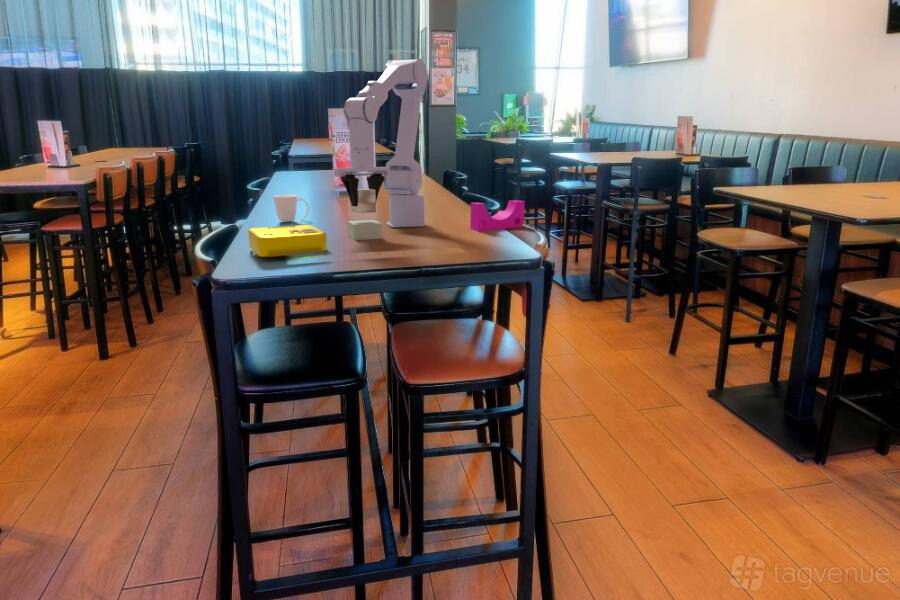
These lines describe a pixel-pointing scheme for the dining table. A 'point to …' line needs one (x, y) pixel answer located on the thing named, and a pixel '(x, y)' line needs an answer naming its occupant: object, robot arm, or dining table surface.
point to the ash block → (365, 201)
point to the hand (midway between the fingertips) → (363, 205)
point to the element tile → (286, 240)
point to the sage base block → (365, 229)
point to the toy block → (497, 216)
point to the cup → (287, 207)
